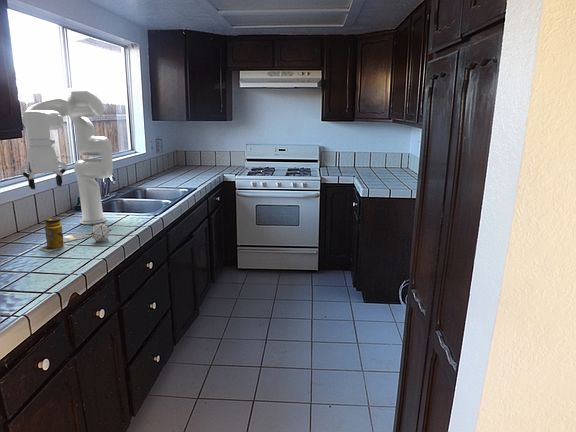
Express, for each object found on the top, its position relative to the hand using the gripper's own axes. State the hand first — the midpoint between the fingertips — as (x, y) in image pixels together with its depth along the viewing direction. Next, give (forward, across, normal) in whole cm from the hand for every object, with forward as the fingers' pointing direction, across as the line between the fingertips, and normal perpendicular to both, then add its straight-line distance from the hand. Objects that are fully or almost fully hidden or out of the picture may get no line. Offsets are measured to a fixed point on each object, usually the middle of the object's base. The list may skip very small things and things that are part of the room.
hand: (46, 187), depth 168 cm
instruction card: (+25, -10, -9) cm, 28 cm away
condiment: (+25, 0, 0) cm, 25 cm away
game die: (+25, -16, +6) cm, 31 cm away
